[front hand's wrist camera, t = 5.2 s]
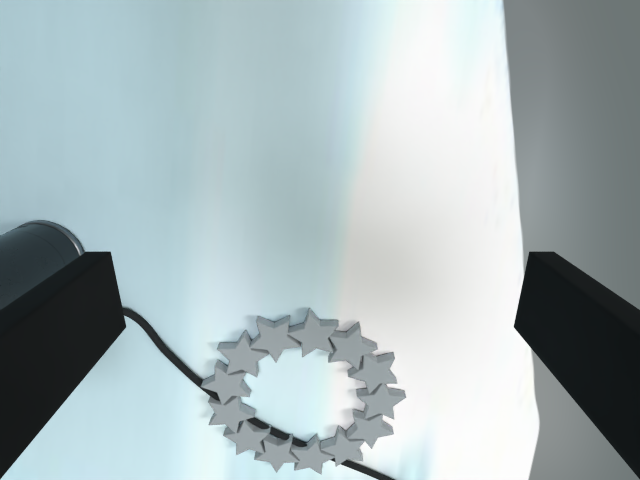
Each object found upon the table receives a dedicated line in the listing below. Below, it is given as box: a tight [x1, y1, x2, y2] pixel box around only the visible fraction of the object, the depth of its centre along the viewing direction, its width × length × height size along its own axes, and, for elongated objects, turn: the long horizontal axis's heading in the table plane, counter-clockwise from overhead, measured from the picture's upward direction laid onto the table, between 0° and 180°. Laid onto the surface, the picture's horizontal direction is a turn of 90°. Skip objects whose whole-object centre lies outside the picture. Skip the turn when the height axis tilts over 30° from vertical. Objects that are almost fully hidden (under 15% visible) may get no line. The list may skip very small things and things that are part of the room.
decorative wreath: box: [201, 308, 406, 474], centre depth 58 cm, size 30×2×30 cm
